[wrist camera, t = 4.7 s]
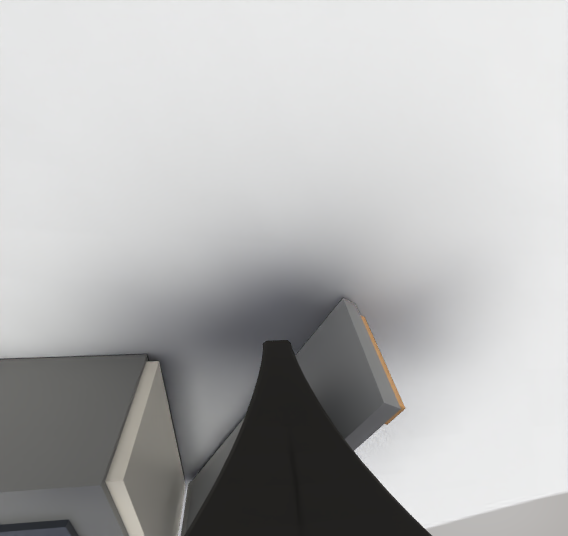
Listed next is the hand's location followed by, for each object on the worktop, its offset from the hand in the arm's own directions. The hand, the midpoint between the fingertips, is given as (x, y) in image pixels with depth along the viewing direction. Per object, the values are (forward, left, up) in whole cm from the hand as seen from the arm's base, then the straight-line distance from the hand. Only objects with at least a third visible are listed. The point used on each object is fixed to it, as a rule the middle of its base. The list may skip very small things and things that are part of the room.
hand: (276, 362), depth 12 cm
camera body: (-7, +9, -2) cm, 11 cm away
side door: (-5, +1, -2) cm, 6 cm away
